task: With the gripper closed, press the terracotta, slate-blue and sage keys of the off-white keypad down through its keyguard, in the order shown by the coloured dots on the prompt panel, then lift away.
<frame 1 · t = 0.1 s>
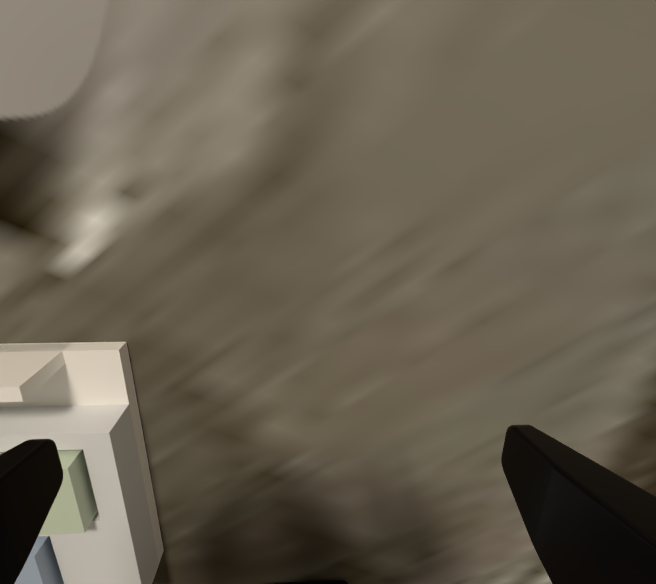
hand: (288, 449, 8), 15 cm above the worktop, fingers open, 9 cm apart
key slate: (13, 570, 23), point 4 cm above the worktop, slide at 0.0 cm
key sage: (43, 489, 22), point 4 cm above the worktop, slide at 0.0 cm
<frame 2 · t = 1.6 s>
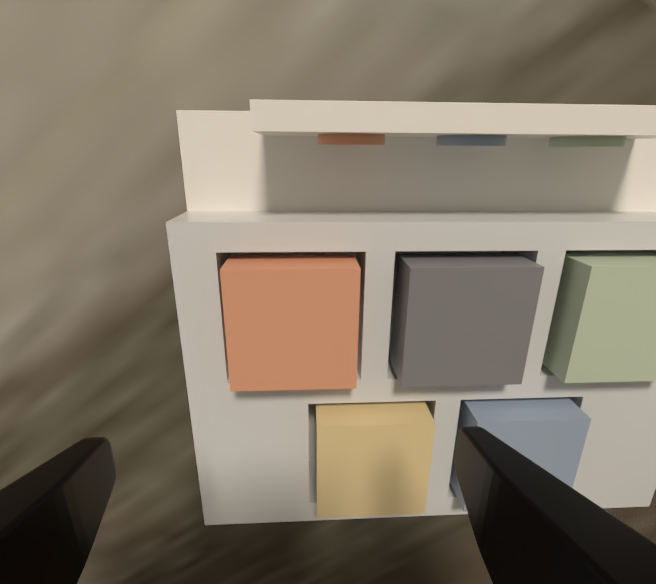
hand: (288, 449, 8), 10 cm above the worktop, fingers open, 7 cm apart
key slate: (513, 450, 17), point 4 cm above the worktop, slide at 0.0 cm
key sage: (619, 316, 15), point 4 cm above the worktop, slide at 0.0 cm
key terracotta: (293, 321, 14), point 4 cm above the worktop, slide at 0.0 cm
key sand: (370, 455, 16), point 4 cm above the worktop, slide at 0.0 cm
key charcoal: (459, 319, 14), point 4 cm above the worktop, slide at 0.0 cm
keypad: (424, 347, 19), on the worktop
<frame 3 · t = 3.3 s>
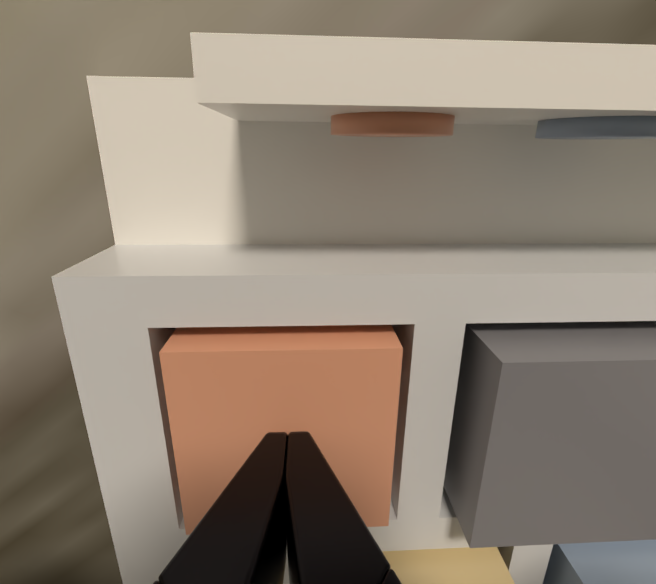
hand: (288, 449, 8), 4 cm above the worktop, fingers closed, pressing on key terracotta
key terracotta: (287, 420, 9), point 3 cm above the worktop, slide at 0.6 cm, touching gripper
key charcoal: (566, 430, 9), point 4 cm above the worktop, slide at 0.0 cm
keypad: (478, 433, 13), on the worktop
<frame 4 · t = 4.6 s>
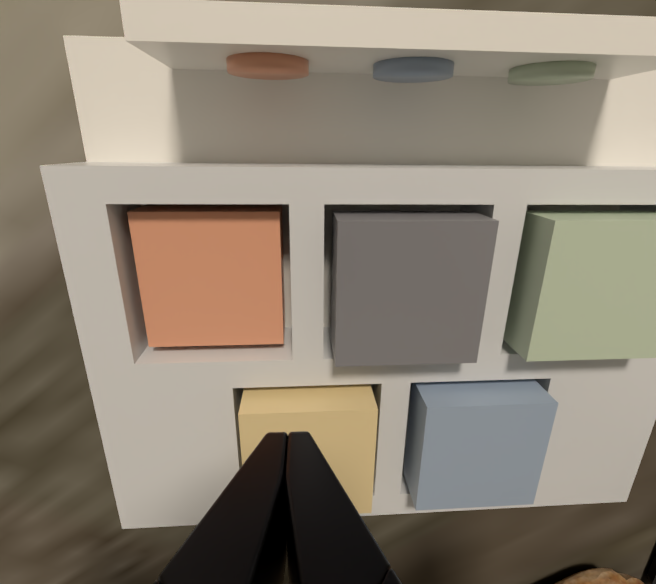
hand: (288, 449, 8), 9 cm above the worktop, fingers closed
key slate: (473, 441, 15), point 4 cm above the worktop, slide at 0.0 cm
key sage: (590, 284, 13), point 4 cm above the worktop, slide at 0.0 cm
key terracotta: (216, 274, 13), point 2 cm above the worktop, slide at 1.6 cm
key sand: (308, 447, 14), point 4 cm above the worktop, slide at 0.0 cm
key charcoal: (404, 287, 12), point 4 cm above the worktop, slide at 0.0 cm
keypad: (377, 326, 17), on the worktop
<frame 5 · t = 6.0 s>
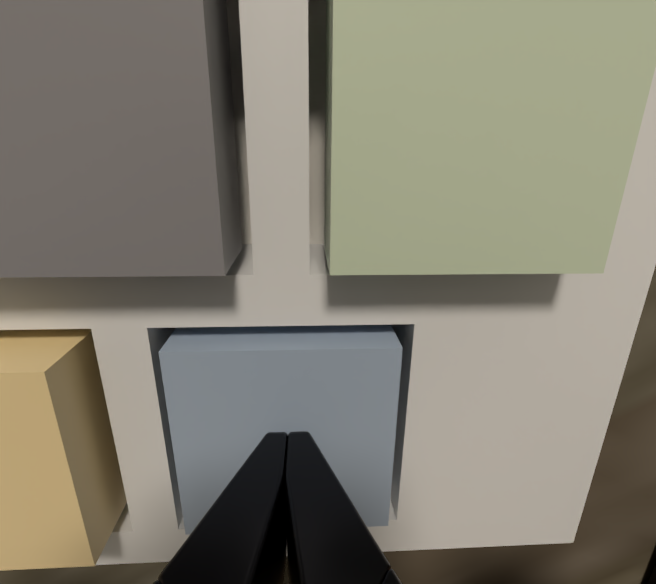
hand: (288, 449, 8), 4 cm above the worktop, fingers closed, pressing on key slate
key slate: (287, 419, 9), point 3 cm above the worktop, slide at 0.6 cm, touching gripper
key sage: (465, 126, 6), point 4 cm above the worktop, slide at 0.0 cm
key charcoal: (77, 120, 6), point 4 cm above the worktop, slide at 0.0 cm
keypad: (174, 254, 10), on the worktop
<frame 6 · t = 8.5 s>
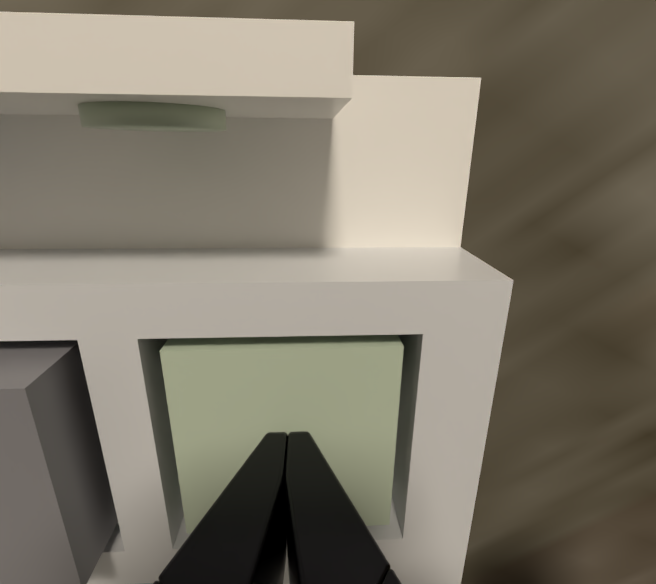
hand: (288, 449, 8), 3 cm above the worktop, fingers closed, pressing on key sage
key sage: (288, 418, 9), point 2 cm above the worktop, slide at 1.1 cm, touching gripper
keypad: (90, 455, 12), on the worktop
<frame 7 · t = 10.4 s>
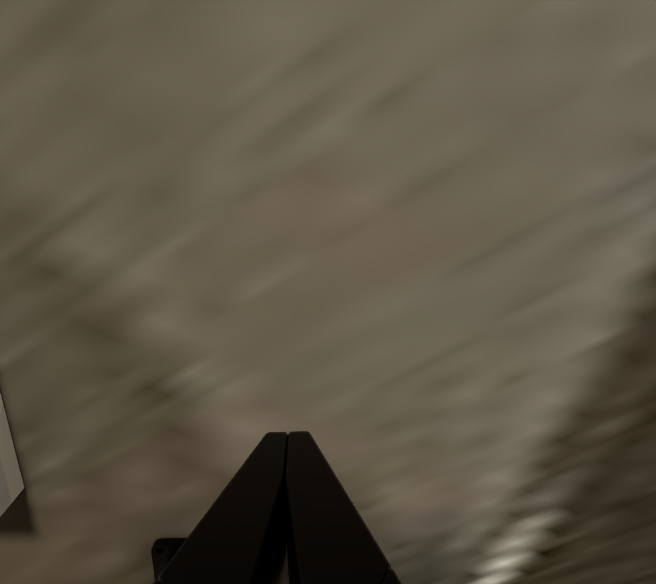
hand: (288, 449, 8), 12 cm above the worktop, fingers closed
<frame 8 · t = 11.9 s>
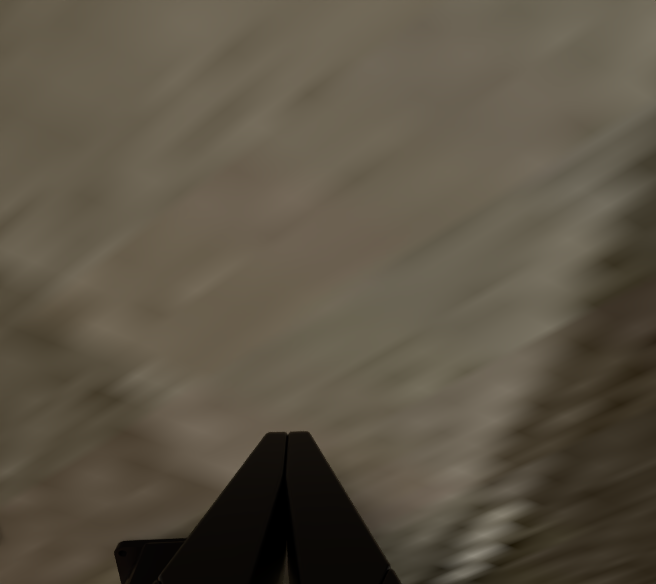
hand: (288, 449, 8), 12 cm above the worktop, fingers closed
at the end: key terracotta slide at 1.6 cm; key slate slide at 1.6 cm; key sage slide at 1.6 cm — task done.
